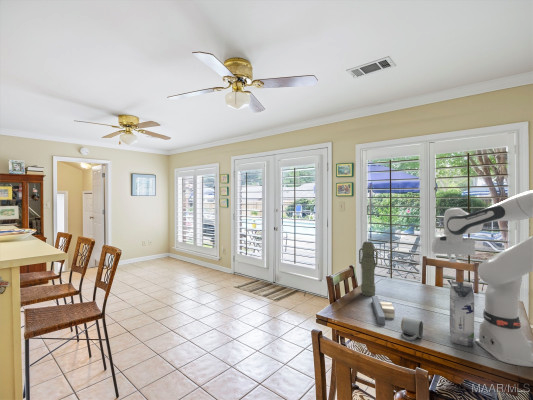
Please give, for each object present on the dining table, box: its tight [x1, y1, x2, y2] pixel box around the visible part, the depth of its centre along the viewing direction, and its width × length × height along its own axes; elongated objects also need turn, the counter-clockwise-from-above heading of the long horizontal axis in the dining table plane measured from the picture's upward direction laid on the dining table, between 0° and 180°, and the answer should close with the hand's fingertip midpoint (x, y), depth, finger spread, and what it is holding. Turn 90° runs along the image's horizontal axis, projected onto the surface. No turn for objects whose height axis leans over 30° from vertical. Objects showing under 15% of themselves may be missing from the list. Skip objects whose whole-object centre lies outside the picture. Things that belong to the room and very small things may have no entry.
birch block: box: [379, 301, 396, 319], centre depth 153 cm, size 10×6×5 cm, turn 165°
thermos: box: [358, 241, 379, 297], centre depth 184 cm, size 9×12×35 cm
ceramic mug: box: [400, 317, 424, 341], centre depth 129 cm, size 11×8×8 cm
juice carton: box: [449, 280, 475, 348], centre depth 124 cm, size 9×10×27 cm
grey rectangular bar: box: [371, 295, 386, 326], centre depth 155 cm, size 30×3×4 cm, turn 165°
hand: (452, 262), depth 151 cm, fingers closed
